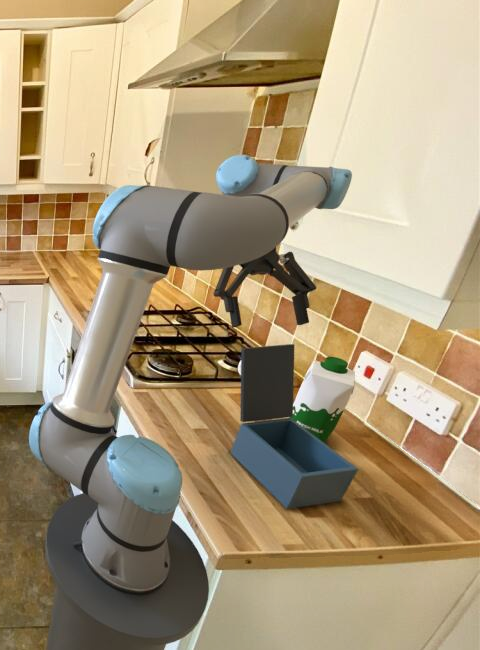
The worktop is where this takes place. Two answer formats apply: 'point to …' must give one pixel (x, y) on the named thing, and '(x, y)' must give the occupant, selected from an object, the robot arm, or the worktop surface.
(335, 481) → the storage box
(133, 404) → the worktop surface
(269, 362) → the lid
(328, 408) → the milk carton
